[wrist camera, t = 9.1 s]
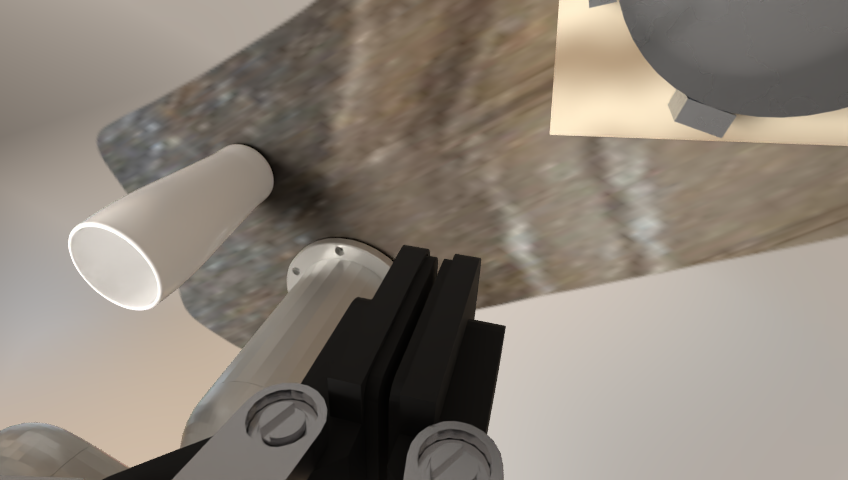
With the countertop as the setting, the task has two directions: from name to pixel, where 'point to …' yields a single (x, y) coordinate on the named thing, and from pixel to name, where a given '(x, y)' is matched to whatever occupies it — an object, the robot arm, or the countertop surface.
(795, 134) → the nut base
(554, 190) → the countertop surface
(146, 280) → the white tall cup
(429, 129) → the countertop surface
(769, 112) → the tabbed metal disc
